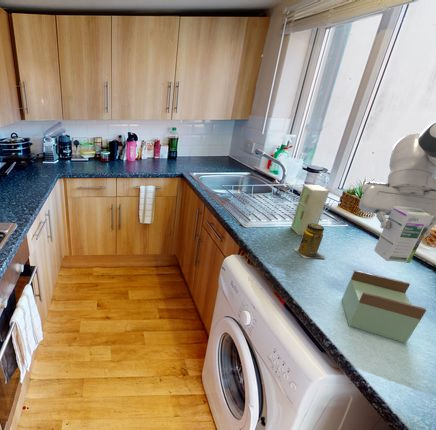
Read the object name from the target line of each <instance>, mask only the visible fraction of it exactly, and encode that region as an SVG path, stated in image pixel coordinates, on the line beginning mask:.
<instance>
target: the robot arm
mask: <svg viewBox="0 0 436 430" xmlns="http://www.w3.org/2000/svg"><path fill="white" fill-rule="evenodd" d="M389 169H390V170H389V171H390V172H389V174H388V177H387V181H386V182H387V183H385V182H375V181H368V182H364V183H363V184H362V185H361V187H360V192H361V194H362V195H361V197H360V200H359V203H358V209H359V210H360V211H361V212H364V213H371V214H376V215H375V217H376V218H377V220H378V221H379V223H380V229H388V228H390V224H391V222H390V221H387V220H388V219H387V218H386V216H388V217H389V215H390V213H391V211H392V208H393V206H399V207H412V208H420V209H423V210H425V211H427V212H429V213H431V214H432V215H434V217H433V219H432V221H431V223H430V225H429V227H428V229H427V231H426V233H425V234H424V236H423V237H429V236H430V235H431V231H432V229H433V228H434V227H435V226H436V121H434V122H432V123H431V124H429V125H427V127H426V128H424V130H422V132H416V133H410V134H408V135H405V136H402V138H400V139H399V140H398V141H396V142H395V144H394V146H393V148H392V150H391V154H390V158H389Z"/></svg>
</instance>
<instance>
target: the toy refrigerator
mask: <svg viewBox="0 0 436 430" xmlns="http://www.w3.org/2000/svg"><path fill="white" fill-rule="evenodd" d="M329 193H330V190H329V189H327V188H325V187H323V186H321V185H319V184H303V185H302V188H301V192H300V195H299V197H298V198H299V199H298V202H297V205H296V209H295V212H294V216H293V218H292V222H291V226H290V228H291V229H292V230H293V231H294V233H296V234H297V235H298V236H303V234H304V231H305V230H306V228H307V226H308V224H311V223H313V224H318V225H319V222H320V219H321V217H322V213H323V210H324V207H325V205H326V202H327V200H328V196H329Z"/></svg>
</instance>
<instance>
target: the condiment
mask: <svg viewBox="0 0 436 430" xmlns="http://www.w3.org/2000/svg"><path fill="white" fill-rule="evenodd" d="M324 232H325V227H324V226H323V225H321V224H319V223H318V224H313V223H311V224H308V226H307V228H306V230H305V231H304V234H303V235H302V237H301V239H300V240H301V241H300V243H299V246H298V247H297V248H294V247H293V250H295V252H296V253H298V255H300V256H301V257H302V258H304V259H326V257H325V256H324V255H323V254H321V253H320V252H319V249H320V246H321V243H322V241H323V238H324V234H323V233H324Z"/></svg>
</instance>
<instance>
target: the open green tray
mask: <svg viewBox="0 0 436 430" xmlns="http://www.w3.org/2000/svg"><path fill="white" fill-rule="evenodd" d="M351 275H352V276H351V277H350V279H349V282H348V284H347V286H346V289H345V290H344V293H343V296H342V298H341V302H342V306H343V310H344V314H345V318H346V321H347V325H348V326H349V327H352V328H354V329H355V328H356V329H358V330H362V331H364V332H365V331H366V332H369V333H372V334H374V335H378V336H381V337H384V338H388V339H391V340H394V341H396V342H401V343H404V344H407V342H408V341H409V340H410V338H411V336H412V335H413V333H414V332H415V330H416V328H417V327H418V325H419V324H420V322H421V320H422V318H423V317H424V315H426V312H427V309H426V308H425V307H421V306H418V305H414V304H412V303H411V301H410V299H409V297H408V296H407V294H406V293H407V291H408V289H409V287H410V285H411V283H410V282H406V281H403V280H398V279H395V278H390V277H386V276H382V275H377V274H373V273H369V272H366V271H361V270H357V269H354V270H353V273H352V274H351Z"/></svg>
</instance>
